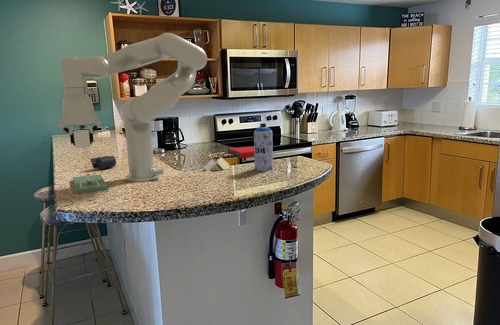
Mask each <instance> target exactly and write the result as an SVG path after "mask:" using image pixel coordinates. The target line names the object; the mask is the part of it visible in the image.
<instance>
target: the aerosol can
mask: <svg viewBox="0 0 500 325" xmlns="http://www.w3.org/2000/svg"><path fill="white" fill-rule="evenodd" d="M273 145H274V143H273V130H272V129H271V128H270V127H269V126H267V124H266V123H259V126H258V127H256V128H255V130H254V132H253V146H254V156H255V157H254V171H256V172H268V171H272V170H274V160H273V159H274V154H273V153H274V151H273V148H274V147H273Z"/></svg>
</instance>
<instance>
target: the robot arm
mask: <svg viewBox="0 0 500 325" xmlns="http://www.w3.org/2000/svg"><path fill="white" fill-rule="evenodd" d="M168 58H172V59H173V60H175V61H177V69H176V70H175V72H173V73H172V74H171V75H169V76H168V77H166V78H164V79H162V80H161V81H159V82H157V83H155V84H153V85H152V86H150V88H149V90H147V91H146V92H144V93H143V94H141V95H139V96H133V97H130V98H128V99H127V100H126V101H125V102H124V104H123V107H122V115H123V116H122V117H123V123H124V128H125V138H126V140H125V142H126V151H127V161H128V175H126V176H124V178H125V181H127V182H132V183H133V182H136V183H137V182H139V183H140V182H147V181H153V180H157V179H158V178H159V177H160V175H164V174H165V170H164V168H158V166H157V165H155V162H154V161H155V160H154V147H153V134H152V133H153V132H152V126H151V121H153V120H155V119H156V118H158V117H160V116H161V115H163V114H164V113H165V112H168V111H169V110H171V109H172V108H174V107H175V106H176V104H177V103H178V102H179V100H180V97H181V96H182V95H184V93H186V92H188V91H190V89H191V88H192V87H193V85H194V84H195V82H196V79H197V71H200V70H202V69H203V68H205V67H206V66H207V62H208V55H207V53H206V51H205V50H204V49H203V48H202V47H200V46H198V45H196V44H194V43H192V42H190V41H188V40H186V39H184V38H183V37H181V36H179V35H177V34H175V33H172V32H163V33H161V34H160V35H159V36H154V37H152V38H148V39H145V40H142V41H139V42H135V43H131V44H128V45H126V46H124V47H122V48H120V49H118V50H116V51H114V52H110V53H108V54H105V55H102V56H99V55H92V56H83V57H80V56H64V57H61V58H60V70H61V77H62V83H63V93H64V97H62V103H61V104H62V118H61V120H59V122H58V124H57V127H58V128H59V129H61V130H63V131H64V132H65V133H66V134H68V135H69V138H70V144H73V145H72V146H73V147H75V140H74V133H73V132H74V128H75V127H80V126H87V130H88V131H89V139H90V146H91V145H93V142H94V132H95V131H96V130H97V129H98V128H99V127H100V126H101V125H102V124H103V122H102V121H101V120H100V119H99V118H98V117H97V116H96V114H95V108H94V105H93V104H94V103H93V100H92V98H91V96H89V95H91V94H93V90H92V89H89V88H88V83H87V82H88V81H87V80H88V79H87V78H90V79H93V80H100V79H103V78H106V77H110V76H112V75H116V74H119V73H121V72H122V73H123V72H125V71H126V72H127V71H128V70H129V71H131V70H135V69H137V68H141V67H144V66H148V65H150V64H153V63H156V62H159V61H163V60H167V59H168ZM92 125H93V126H92ZM68 127H69V128H68ZM94 143H95V142H94Z"/></svg>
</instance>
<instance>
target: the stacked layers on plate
mask: <svg viewBox="0 0 500 325" xmlns="http://www.w3.org/2000/svg"><path fill="white" fill-rule="evenodd" d="M230 167H231V166H230V164H229V162H227V161H226V160H225V159H224V158H223V157H219V158H218V159H217V160H216V161H215V160H214V159H210V160H209V161H208V162H207V163H206V164H205V165H204V166H203V168H204V170H205V171H206V172H208V171H222V170H223V171H224V170H226V169H227V170H228V169H229V168H230Z"/></svg>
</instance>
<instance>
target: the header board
mask: <svg viewBox="0 0 500 325" xmlns="http://www.w3.org/2000/svg"><path fill="white" fill-rule="evenodd" d="M90 176H91V180H92V184H91V185H88V183H87V178H86V175H82V176H75V177H73V176H72V182H73V185H74V189H75V193H76V194H77V195H78V194H86V193H93V192H94V193H95V192H100V191H101V192H102V191H106V190H109V186H108V184H107V182H106V181H105V179H104V178H103V176H102V175H101V174H94V175H93V174H92V175H91V174H90Z"/></svg>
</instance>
